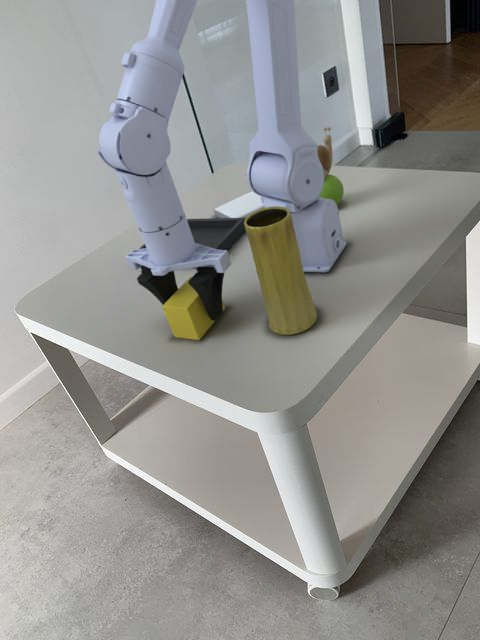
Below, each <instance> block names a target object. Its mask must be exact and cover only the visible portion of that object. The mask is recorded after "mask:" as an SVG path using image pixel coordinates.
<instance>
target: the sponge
mask: <svg viewBox="0 0 480 640" xmlns="http://www.w3.org/2000/svg"><path fill="white" fill-rule="evenodd" d="M192 277H193V276H189V277H188V278H187V279H186V280H185V282H184V283H183V284H182V285H181V286H180V287H179V288H178V290H177V291H176V292H175V293H174V294H173V295H172V296H171V297H170V299H169V300H168V301H167V302H166V303H165V304H164V305H161V308H162V311H163V313H164V315H165V317H166V319H167V323H168V324H169V327H170V329H171V331H172V334H173V336H174V338H177V339H188V340H196V341H200V340H201V339H202V338H203V337H204V335H205V334H206V333H207V332H208V330H209V329H210V328H211V327H212V325H213V324H214V323H215V322H216V321H214V320H211V319H210V317H209V316H208V314H207V311H206V309H205V306H204V304H203V302H202V300H201V298H200V297H199V295H198V294H197V292H196V291H195V290H194V289H193V288H192V287H191V286H190V285H189V283H188V281H189V280H190V279H191V278H192ZM222 305H223V312H224V311H225V309H226V308H225V304H224V300H222Z"/></svg>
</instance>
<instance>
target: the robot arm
mask: <svg viewBox="0 0 480 640" xmlns="http://www.w3.org/2000/svg"><path fill="white" fill-rule="evenodd" d="M197 2H198V0H155V4H154V8H153V12H152V16H151V20H150V25H149V29H148V31H147V32H148V33H147V37H145V38H144V39H142V40H139V41H137V42H135V43H133V44H132V46H131V49H130V52H124V53H123V55H122V59H121V63H120V65H121V66H122V67H124V68H125V70H124V74H123V76H122V80H121V83H120V86H119V90H118V93H117V96H116V100H115V102H111V104H110V108H109V113H110V114H112V117H110V118H109V119H108V121H105V122H104V124H103V125H102V127H101V129H100V131H99V136H98V145H99V146H100V149H99V150H98V151H97V154H98V156H99V158H100V159H101V160H102V162H103V163H104V164H105V165H107V167H110V169H113V170H114V171H115V174H116V177H117V179H118V181H119V184H120V186H121V189H122V191H123V195H124V197H125V199H126V202H127V204H128V206H129V209H130V211H131V215H132V216H133V219H134V220H135V223H136V226H137V229H138V230H139V233H140V236H141V238H142V240H143V244H145V245H146V248H144V249H139V248H134V249H132V250H131V251H130V252H129V253H128V254H127V255H126V256H125V260H126V261H127V264H128V266H129V269H130V270H134V271H135V270H138V269H139V268H140V270H141V271H140V274H139V275H138V276H137V278H136V281H137V283H138V285H140V286H142V287H143V288H145V289H146V290H147V291H149V292H150V293H151V294H152V295H153V296H154V297H155V298H156V299H157V300H158V301H159V302H160V304H161V306H163V305H164V304H165V303H166V302H167V301H168V300H169V299H170V297H171V296H172V295H173V294H174V293H175V292H176V291H177V290H178V289H179V288H178V284H177V279H176V275H175V271H183V270H189V269H190V270H196V272H195V273H194V274H193V275H192V276H191V277H192V278H191V279H190V280H189V281H188V283H189V285H190V286H191V287H192V288H193V289H194V290H195V291H196V292H197V294H198V295H199V297H200V298H201V300H202V302H203V304H204V306H205V309H206V311H207V314H208V316H209V317H210V319H211V320H214V321H215V322H216V321H218V319H219V318H220V317H221V316H222V315H223V313H224V311H223V305H222V301H223V285H224V283H223V282H224V277H225V272H226V271H227V270H228V269H229V268H230V267H231V265H232V261H231V258H230V254H229V252H228V251H229V250H228V251H227V250H217V249H214V248H210V247H207V246H204V245H200V244H197V243H195V242H194V239H193V236H192V233H191V230H190V227H189V225H188V222H187V219H188V218H187V216H186V212H185V210H184V208H183V205H182V202H181V200H180V197H179V194H178V191H177V188H176V185H175V183H174V180H173V177H172V175H171V171H170V169H169V166H168V163H167V160H168V157H169V156H170V155H171V147H172V146H171V139H170V136H169V133H168V127H169V122H170V118H171V115H172V111H173V108H174V105H175V102H176V99H177V96H178V92H179V89H180V86H181V82H182V80H183V76H184V73H185V69H186V68H185V64H184V61H183V59H182V57H181V54H180V48H181V45H182V43H183V40H184V37H185V35H186V32H187V31H188V27H189V24H190V22H191V18H192V16H193V13H194V10H195V8H196V5H197ZM245 2H246V11H247V12H246V13H247V23H248V33H249V44H250V54H251V63H252V66H251V67H252V75H253V85H254V95H255V106H256V119H257V128H258V130H257V132H256V133H255V135H254V136H253V138H252V140H251V141H250V143H249V144H248V145H249V161H248V165H247V167H246V168H247V169H246V181H247V184H248V187H249V188H250V190H251V192H252V191H253V192H254V193H256V194H258V195H260V196H261V200H262V203H263V204H264V206H265V208H267V207H274V206H279V207H285V208H287V209H288V210H289V211H290V213H291V216H292V221H293V225H294V230H295V234H296V239H297V243H298V248H299V252H300V256H301V262H302V267H303V271H304V273H329V272H330V270H331V268H332V267H333V265H334V264H335V262H336V261H337V259H338V258H339V257H340V256H341V254H342V252H343V251H344V249H345V248H346V246H347V241H345V240H344V235H343V234H344V233H343V229H342V223H341V217H340V213H339V207H338V204H336V203H335V201H334V200H332V199H325V198H322V197H319V195H320V193H321V191H322V188H323V184H324V170H323V167H322V165H321V163H320V160H319V157H318V150H317V146H318V143H317V142H316V140H315V139H314V138H313V137H312V136H311V135H310V134H309V132H307V131H306V129H304V128H303V126H302V116H301V115H302V114H301V100H300V97H301V96H300V80H299V64H298V63H299V62H298V46H297V29H296V28H297V27H296V14H295V13H296V12H295V11H296V10H295V0H245Z"/></svg>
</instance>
